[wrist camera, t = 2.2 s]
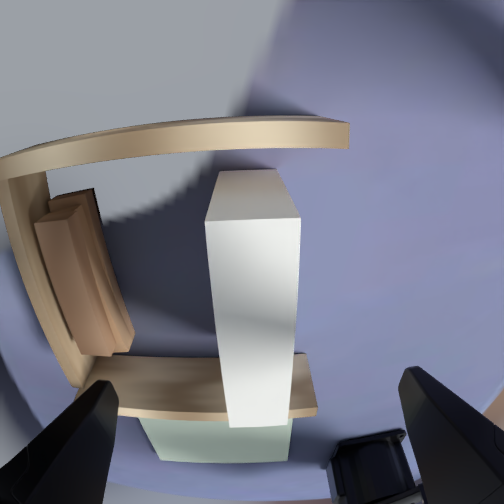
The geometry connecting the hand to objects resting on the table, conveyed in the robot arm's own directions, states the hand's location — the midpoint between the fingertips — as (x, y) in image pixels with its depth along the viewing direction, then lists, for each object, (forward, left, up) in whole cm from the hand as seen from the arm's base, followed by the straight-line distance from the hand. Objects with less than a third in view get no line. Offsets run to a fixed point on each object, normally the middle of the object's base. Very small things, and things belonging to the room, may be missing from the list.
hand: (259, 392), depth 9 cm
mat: (+3, +13, -8) cm, 16 cm away
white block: (0, 0, -8) cm, 8 cm away
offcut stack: (+8, 0, -8) cm, 11 cm away
